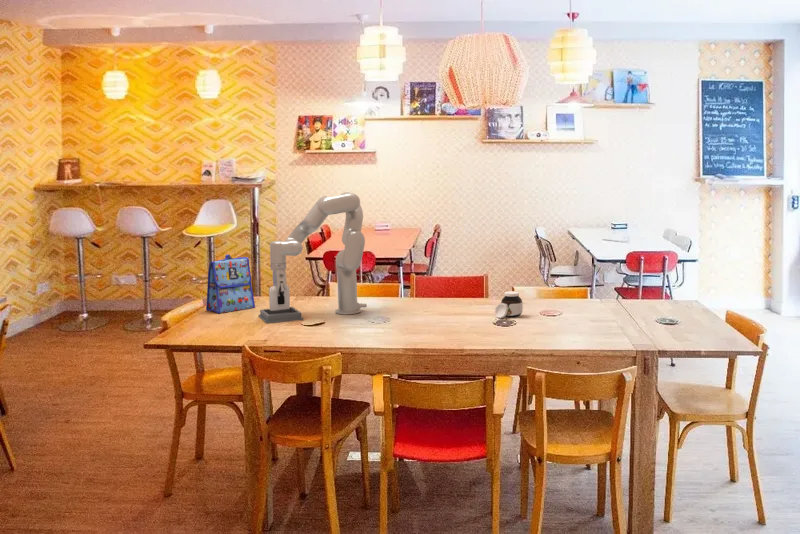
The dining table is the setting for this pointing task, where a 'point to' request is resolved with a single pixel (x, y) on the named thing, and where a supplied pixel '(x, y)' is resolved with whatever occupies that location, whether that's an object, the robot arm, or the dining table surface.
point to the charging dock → (280, 315)
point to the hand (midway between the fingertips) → (279, 302)
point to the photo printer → (274, 299)
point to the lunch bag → (229, 285)
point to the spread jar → (510, 305)
